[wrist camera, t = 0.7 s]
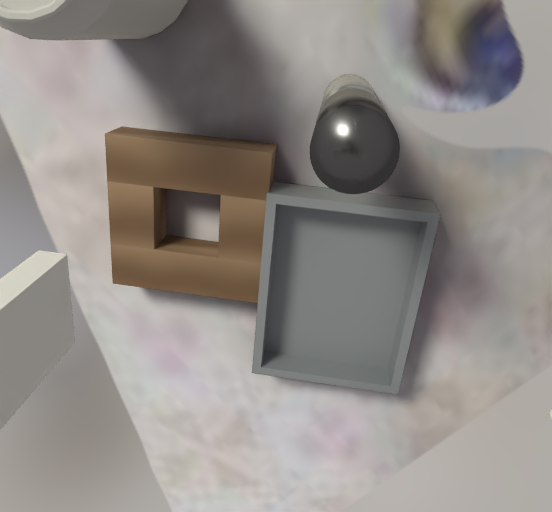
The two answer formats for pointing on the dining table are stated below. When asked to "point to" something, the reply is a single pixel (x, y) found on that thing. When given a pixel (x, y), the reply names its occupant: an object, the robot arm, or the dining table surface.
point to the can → (88, 18)
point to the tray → (340, 285)
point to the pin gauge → (353, 138)
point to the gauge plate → (196, 178)
